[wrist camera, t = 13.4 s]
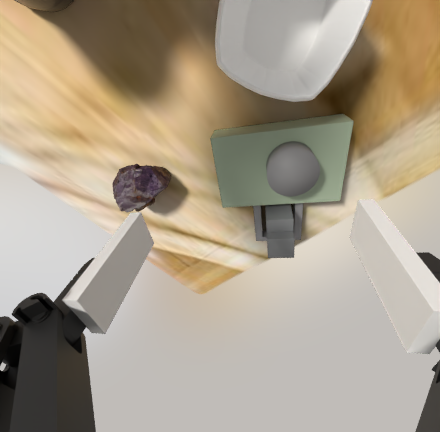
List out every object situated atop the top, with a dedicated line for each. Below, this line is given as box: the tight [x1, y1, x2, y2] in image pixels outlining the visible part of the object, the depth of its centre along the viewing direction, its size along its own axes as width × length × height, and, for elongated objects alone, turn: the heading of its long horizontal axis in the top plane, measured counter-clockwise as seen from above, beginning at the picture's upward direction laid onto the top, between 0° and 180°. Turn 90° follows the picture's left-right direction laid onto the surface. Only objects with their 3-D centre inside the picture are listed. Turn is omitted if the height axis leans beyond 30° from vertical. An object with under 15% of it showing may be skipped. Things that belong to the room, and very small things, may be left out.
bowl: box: [215, 0, 373, 102], centre depth 28 cm, size 15×15×11 cm
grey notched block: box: [265, 204, 295, 258], centre depth 47 cm, size 5×8×10 cm, turn 9°
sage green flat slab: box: [210, 114, 353, 241], centre depth 43 cm, size 22×26×9 cm
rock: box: [113, 164, 171, 212], centre depth 47 cm, size 12×9×10 cm
